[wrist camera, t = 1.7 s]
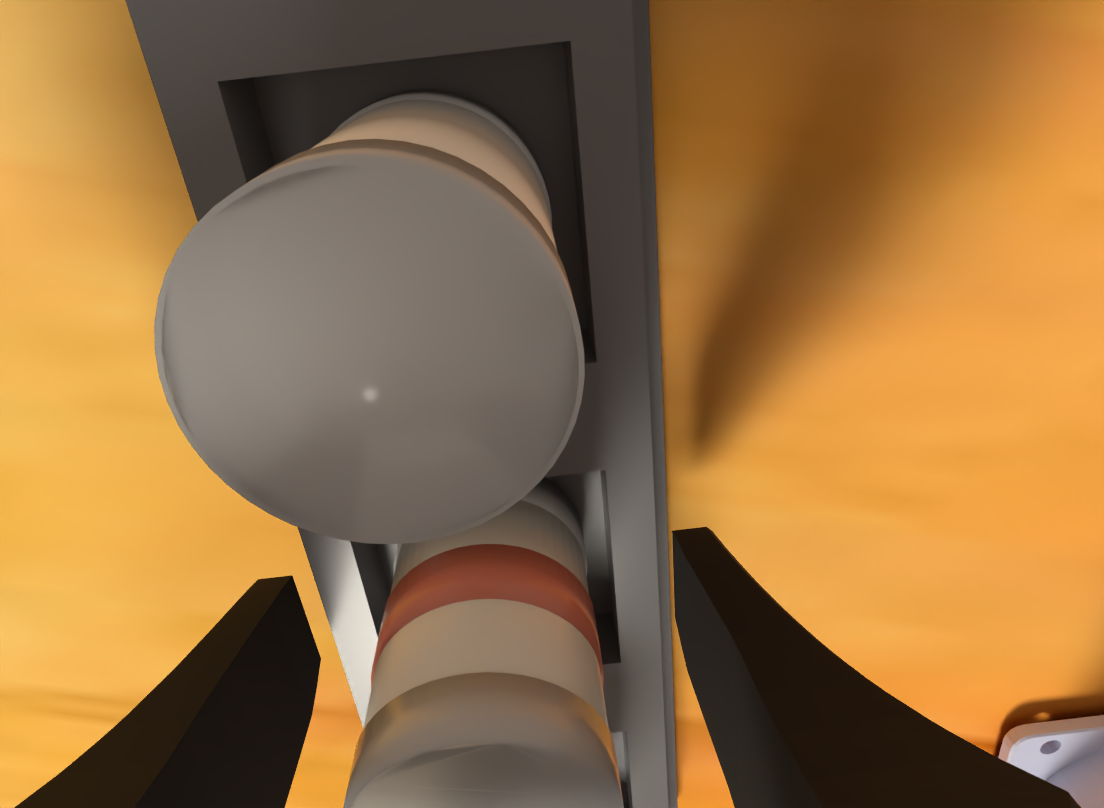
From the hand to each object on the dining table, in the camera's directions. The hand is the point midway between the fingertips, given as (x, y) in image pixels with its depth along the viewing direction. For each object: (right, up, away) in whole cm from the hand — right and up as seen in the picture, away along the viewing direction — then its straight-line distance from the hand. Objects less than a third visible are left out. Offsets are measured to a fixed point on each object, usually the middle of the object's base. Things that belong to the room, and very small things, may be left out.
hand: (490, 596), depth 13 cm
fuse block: (0, +1, +2) cm, 2 cm away
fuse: (-1, +6, -2) cm, 7 cm away
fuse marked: (0, +1, +1) cm, 2 cm away
